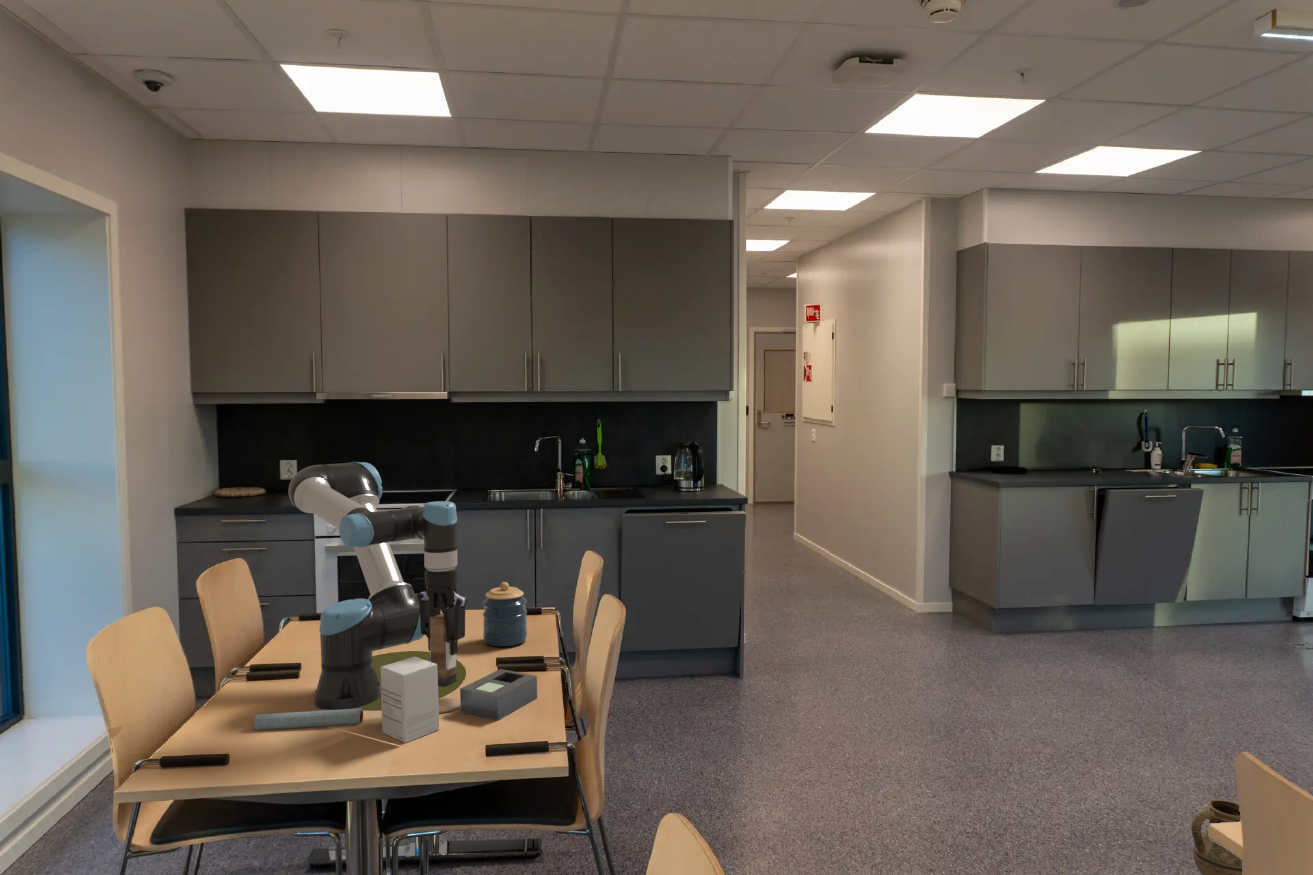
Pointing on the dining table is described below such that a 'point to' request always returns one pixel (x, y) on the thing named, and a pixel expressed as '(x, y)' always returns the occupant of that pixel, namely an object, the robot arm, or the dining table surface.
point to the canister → (504, 616)
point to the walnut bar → (440, 650)
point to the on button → (490, 687)
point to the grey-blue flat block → (308, 719)
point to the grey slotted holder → (499, 694)
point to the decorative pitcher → (1209, 857)
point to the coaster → (448, 705)
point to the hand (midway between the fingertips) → (443, 665)
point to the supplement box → (409, 699)
